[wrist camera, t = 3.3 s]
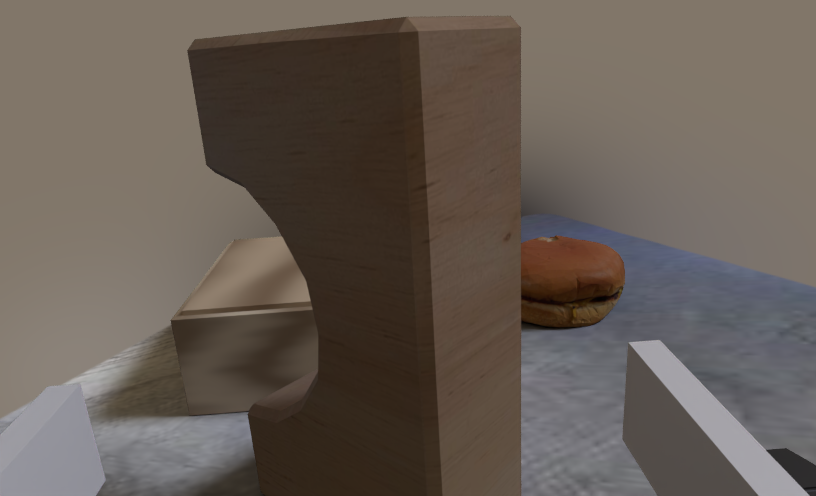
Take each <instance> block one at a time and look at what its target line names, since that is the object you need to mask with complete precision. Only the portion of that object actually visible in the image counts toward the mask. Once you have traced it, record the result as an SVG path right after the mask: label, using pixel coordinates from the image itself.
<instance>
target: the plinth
mask: <svg viewBox="0 0 816 496" xmlns="http://www.w3.org/2000/svg"><path fill="white" fill-rule="evenodd" d="M171 324H172V329H173V334H174V339H175V344H176V349H177V354H178V359H179V364H180V369H181V374H182V379H183V384H184V389H185V394H186V399H187V404H188V409H189V414H190V416H192V415H205V414H217V413H230V412H243V411H249V409H250V408H251V406H252V405H253V404H254V403H255V402H257V401H259V400H261V399H263V398H265V397H267V396H268V395H270V394H272V393H274V392H276V391H278V390H280V389H281V388H283V387H285V386H287V385H289V384H291V383H292V382H294V381H296V380H298V379H300V378H302V377H304V376H305V375H307V374H309V373H311V372H313V371H315V370H317V369H318V331H317V326H316V322H315V318H314V313H313V309H312V305H311V300H310V296H309V292H308V287H307V283H306V280H305V278H304V276H303V274H302V273H301V271H300V269H299V267H298V265H297V263H296V261H295V260H294V258H293V256H292V254H291V252H290V250H289V248H288V247H287V245H286V243H285V241H284V239H283V237H282V236H281V237H269V238H268V237H267V238H255V239H254V238H253V239H239V240H234V241H233V242H230V243H229V244H228V246H227V247H226V248H225V250H224V251H223V252H222V253H221V255H220V256H219V257H218V259H217V260H216V261H215V263H214V264H213V265H212V267H211V268H210V269H209V271H208V272H207V273H206V275H205V276H204V277H203V278H202V280H201V281H200V282H199V284H198V285H197V287H196V288H195V289H194V290H193V292H192V293H191V294H190V296H189V297H188V298H187V300H186V301H185V302H184V304H183V305H182V306H181V307H180V309H179V310H178V312H177V313H176V314H175V315H174V317H173V318H172V319H171Z"/></svg>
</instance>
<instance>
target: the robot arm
mask: <svg viewBox="0 0 816 496" xmlns="http://www.w3.org/2000/svg"><path fill="white" fill-rule="evenodd" d="M622 439H623V441H624V442H625V444H626V446H627V447H628V449H629V450H630V452H631V454H632V455H633V457H634V458H635V460H636V462H637V463H638V465H639V466H640V468H641V470H642V471H643V473H644V474H645V476H646V478H647V479H648V481H649V482H650V484H651V486H652V487H653V489H654V490H655V492H656V494H657V495H658V496H816V465H814V464H813V463H811V462H809V461H807V460H806V459H804V458H802V457H801V456H799V455H797V454H795V453H794V452H792V451H790V450H788V449H787V448H784V449H772V450H765V449H764V448H763V447H762V446H761V445H760V444H759V443H758V442H757V441H756V440H755V439H754V437H753V436H752V435H751V434H750V433H749V432H748V431H747V430H746V429H745V428H744V427H743V426H742V425H741V424H740V423H739V422H738V421H737V420H736V419H735V418H734V417H733V416H732V415H731V414H730V413H729V412H728V411H727V409H726V408H725V407H724V406H723V405H722V404H721V403H720V402H719V401H718V400H717V399H716V398H715V397H714V396H713V395H712V394H711V393H710V392H709V391H708V390H707V389H706V388H705V387H704V386H703V385H702V384H701V383H700V382H699V380H698V379H697V378H696V377H695V376H694V375H693V374H692V373H691V372H690V371H689V370H688V369H687V368H686V367H685V366H684V365H683V364H682V363H681V362H680V361H679V360H678V359H677V358H676V357H675V356H674V355H673V354H672V352H671V351H670V350H669V349H668V348H667V347H666V346H665V345H664V344H663V343H662V342H661V341H660V340H654V341H641V342H628V356H627V373H626V389H625V405H624V421H623V437H622ZM104 482H105V476H104V472H103V468H102V464H101V461H100V457H99V453H98V449H97V445H96V442H95V438H94V434H93V430H92V426H91V422H90V419H89V415H88V411H87V407H86V403H85V400H84V396H83V392H82V388H81V384H73V385H60V386H48V387H47V388H46V389H45V390H44V391H43V392H42V393H41V394H40V395H39V396H38V397H37V398H36V399H35V400H34V401H33V402H32V403H31V404H30V405H29V406H28V407H27V408H26V409H25V410H24V411H23V412H22V413H21V414H20V415H19V416H18V417H17V418H16V419H15V420H14V421H13V422H12V423H11V424H10V425H9V426H8V427H7V428H6V429H5V431H4V432H3V433H2V434H1V435H0V496H96V495H97V493H98V492H99V490H100V488H101V487H102V485H103V484H104Z"/></svg>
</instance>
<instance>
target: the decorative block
mask: <svg viewBox="0 0 816 496" xmlns="http://www.w3.org/2000/svg"><path fill="white" fill-rule="evenodd" d="M188 57H189V63H190V69H191V75H192V80H193V87H194V93H195V99H196V105H197V111H198V117H199V123H200V128H201V135H202V141H203V147H204V153H205V159H206V165H207V166H208V167H209V168H210V169H212V170H213V171H214V172H215V173H217V174H219V175H221V176H223V177H225V178H227V179H229V180H231V181H233V182H235V183H237V184H239V185H241V186H243V187H245V188H246V190H247V191H248V192H249V193H250V194H251V195H252V196H253V198H254V199H255V200H256V202H257V203H258V204H259V205H260V206H261V207H262V208H263V210H264V211H265V212H266V213H267V215H268V216H269V217H270V218H271V219H272V221H273V222H274V223H275V224H276V226H277V228H278V230H279V232H280V233H281V235H282V237H283V239H284V241H285V243H286V245H287V247H288V248H289V250H290V252H291V254H292V256H293V258H294V260H295V261H296V263H297V265H298V267H299V269H300V271H301V273H302V274H303V276H304V278H305V280H306V283H307V287H308V292H309V296H310V300H311V305H312V309H313V313H314V318H315V322H316V326H317V331H318V369H317V370H315V371H313V372H311V373H309V374H307V375H305V376H304V377H302V378H300V379H298V380H296V381H294V382H292V383H291V384H289V385H287V386H285V387H283V388H281V389H280V390H278V391H276V392H274V393H272V394H270V395H268V396H267V397H265V398H263V399H261V400H259V401H257V402H255V403H254V404H253V405H252V406H251V408H250V409H249V413H248V418H249V424H250V430H251V436H252V442H253V448H254V454H255V460H256V466H257V472H258V478H259V484H260V490H261V493H263V494H264V495H265V496H521V186H520V185H521V27H520V26H519V25H518V24H517V23H516V22H515V20H514V19H513V18H512V17H511V16H447V17H446V16H444V17H401V18H392V19H383V20H373V21H364V22H355V23H345V24H337V25H327V26H317V27H308V28H299V29H290V30H280V31H270V32H261V33H251V34H243V35H233V36H224V37H215V38H204V39H195V40H194V41H193V43H192V45H191V46H190V47H189V49H188Z"/></svg>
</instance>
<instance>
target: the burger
mask: <svg viewBox="0 0 816 496" xmlns="http://www.w3.org/2000/svg"><path fill="white" fill-rule="evenodd" d="M624 284H625V269H624V262H623V260H622V259H621V257H620V255H619V254H618V253H617V252H616V251H614V250H613V249H612V248H610V247H608V246H607V245H603V244H600V243H596V242H591V241H586V240H577V239H572V238H568V237H562V236H555V237H550V238H545V237H540V238H537V239H532V240H529V241H526V242H523V243H521V321H524V322H528V323H534V324H538V325H543V326H550V327H582V326H590V325H593V324H595V323H597V322H599V321H600V320H602V319H603V318H604V317H605V316H606V315H607V314H608V313H609V312H610V311H611V310H612V309H613V307H614V306H615V305H616V303H617V302H618V300H619V298H620V295H621V293H622V290H623V286H624Z"/></svg>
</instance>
